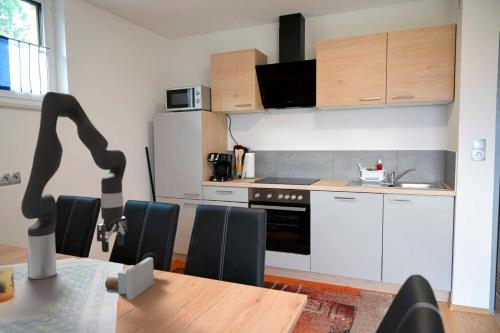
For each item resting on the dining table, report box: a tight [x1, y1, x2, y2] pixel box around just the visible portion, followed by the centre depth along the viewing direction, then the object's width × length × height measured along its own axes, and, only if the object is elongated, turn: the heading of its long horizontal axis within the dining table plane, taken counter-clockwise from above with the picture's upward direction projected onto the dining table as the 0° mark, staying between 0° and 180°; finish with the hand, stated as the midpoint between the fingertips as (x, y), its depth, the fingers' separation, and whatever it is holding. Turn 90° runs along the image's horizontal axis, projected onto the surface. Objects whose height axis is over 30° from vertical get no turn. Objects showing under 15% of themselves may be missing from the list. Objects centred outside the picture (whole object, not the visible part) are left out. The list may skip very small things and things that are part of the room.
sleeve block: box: [117, 264, 136, 295], centre depth 122 cm, size 6×8×8 cm
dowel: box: [104, 276, 118, 290], centre depth 123 cm, size 11×4×4 cm, turn 76°
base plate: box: [126, 257, 155, 301], centre depth 121 cm, size 2×14×10 cm, turn 166°
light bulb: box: [141, 252, 158, 271], centre depth 134 cm, size 6×6×10 cm
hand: (113, 248), depth 123 cm, fingers open, 8 cm apart
